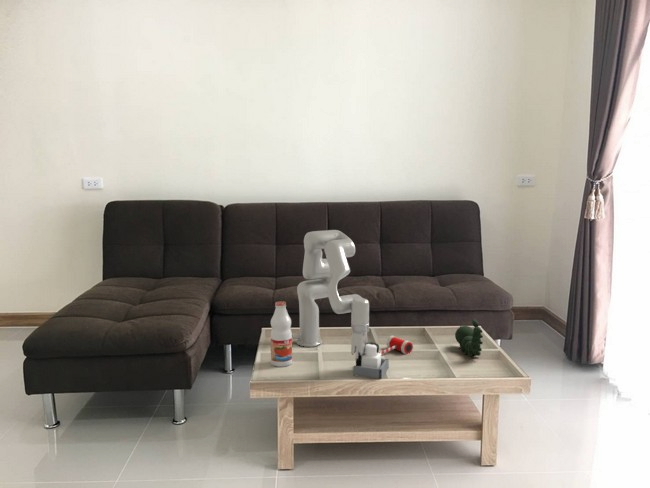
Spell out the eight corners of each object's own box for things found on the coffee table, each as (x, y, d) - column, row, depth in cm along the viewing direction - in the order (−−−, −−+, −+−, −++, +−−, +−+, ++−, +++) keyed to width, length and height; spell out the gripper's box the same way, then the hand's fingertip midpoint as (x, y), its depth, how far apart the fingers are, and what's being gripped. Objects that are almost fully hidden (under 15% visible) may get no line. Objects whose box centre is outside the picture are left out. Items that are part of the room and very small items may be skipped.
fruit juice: (286, 358, 268) (285, 299, 264) (295, 364, 260) (295, 303, 256) (267, 362, 263) (266, 301, 259) (276, 368, 255) (275, 306, 251)
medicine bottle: (364, 366, 256) (366, 340, 254) (380, 369, 254) (382, 342, 252) (360, 372, 249) (361, 345, 248) (376, 374, 247) (378, 347, 245)
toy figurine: (486, 363, 265) (468, 341, 289) (489, 324, 261) (471, 305, 285) (466, 364, 264) (450, 342, 289) (468, 324, 260) (452, 305, 284)
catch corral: (353, 375, 246) (353, 366, 246) (361, 365, 259) (361, 356, 258) (381, 378, 243) (381, 369, 242) (388, 367, 255) (388, 359, 255)
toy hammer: (377, 363, 262) (377, 349, 261) (360, 356, 271) (360, 343, 270) (413, 353, 276) (413, 340, 275) (395, 347, 285) (395, 334, 284)
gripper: (356, 322, 258) (356, 361, 261) (346, 331, 244) (346, 373, 246) (372, 323, 255) (372, 363, 258) (364, 333, 241) (363, 375, 244)
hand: (359, 368), depth 252 cm, fingers closed
